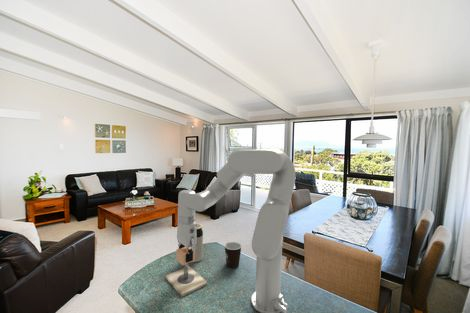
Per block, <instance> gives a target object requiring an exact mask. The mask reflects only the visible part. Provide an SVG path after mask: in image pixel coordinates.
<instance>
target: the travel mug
mask: <svg viewBox="0 0 470 313" xmlns="http://www.w3.org/2000/svg"><path fill="white" fill-rule="evenodd" d="M195 224H196V233H197V243H196V249H195V261H193V262H192V263H198V262H200V261H202V260H203V257H204V256H203V255H204V254H203V251H204V250H203V249H204V244H203V243H204V230H203V224H202V223H196V222H195ZM189 245H191V244H189Z"/></svg>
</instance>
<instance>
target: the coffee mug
mask: <svg viewBox="0 0 470 313" xmlns="http://www.w3.org/2000/svg"><path fill="white" fill-rule="evenodd" d="M224 250H225V251H224V253H225V264H226V267H227V268H228V269H229V268H230V269H236V268H238V267H239V266H240V259H241V252H242V244H241V243H239V242H236V241H229V242H226V243H225V244H224Z"/></svg>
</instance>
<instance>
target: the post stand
mask: <svg viewBox="0 0 470 313" xmlns="http://www.w3.org/2000/svg"><path fill="white" fill-rule="evenodd" d="M165 279H166V280H167V282H168V283H169V285H171V286H172V287H173V288H174V290H176V292H177V293H178V294H179V295H180V297H181V298H184V297H185V296H187V295H190V294H191V293H193V292H196V291H198V290H199V289H201V288H203V287H206V286H207V285H208V281H207V280H205V279H204V277H202V276H201V275H200V274H199V273H198V272H197V271H195V269H193V268H192V267H191V266H189V263H188V264H185V265H183V268H181V269H178V270H176V271H173V272H170V273H168V274H166V275H165Z"/></svg>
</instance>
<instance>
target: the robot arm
mask: <svg viewBox="0 0 470 313" xmlns="http://www.w3.org/2000/svg"><path fill="white" fill-rule="evenodd" d="M248 174H249V175H251V174H252V175H253V174H255V175H271V174H272V178H271V181H270V185H269V189H268V194H267V197H266V200H265V201H264V203H263V204H262V205H261V207H260V209H259V211H258V214H257V218H256V223H255V227H254V230H253V235H252V238H251V248H252V251H253V253H254V254H255V256H256V263H255V264H256V265H255V266H256V268H255V270H256V271H255V292H253V294H252V295H251V298H250V299H251V304H252V307H253V308H254V309H255V310H256V311H257V312H259V313H288V307H289V304H288V303H287V302H286V301H284V300H285V299H284V298H283V294H281V289H282V288H281V284H282V283H281V281H282V280H281V278H282V263H283V262H282V258H283V256H282V255H283V243H284V231H285V228H286V224H287V221H288V217H289V212H290V205H291V201H292V196H293V192H294V188H295V184H296V169H295V165H294V163H293V161H292V159H291V158H290V157H289V156H288V155H287V153H285V152H284V151H282V150H280V149H277V148H269V149H246V148H245V149H242V148H241V149H235V150H233V151H232V152H230V154H229V155H228V158H227V162H226V163H225V164H224V165H223V166H222V167H221V168H220V169H219V170H218V171H217V173H216V179H215V180H214V182H213V183H212V184H210V186H209V187H207V188H206V189H204V190H202V191H201V192H197V193H196V191H195V190H192V189H183V190H180V191H179V192H178V197H177V198H178V201H177V228H176V230H177V231H176V239H177V242H178V243H177V244H178V245H177V246H178V249H180V248H183V247H186V250H187V253H186V263H188V262H190V261H193V252H194V250H195V249H196V243H197V233H196V212H204V211H206V210H207V209H208V208H210V207H212V206H214V205H215V204H216V203H217V202H218V201H220V200H221V198H223V196H224V195H225V194H226V193H228V192H229V191H230V190H231V189H232V188H233V187H234V186H235V185H236V184H237V183H238V182H239V181H240V180H241V179H242V178H243V177H244V176H245V175H248ZM189 244H191V245H189ZM189 247H191V249H190V250H189ZM190 263H191V262H190ZM188 264H189V263H188Z"/></svg>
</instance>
